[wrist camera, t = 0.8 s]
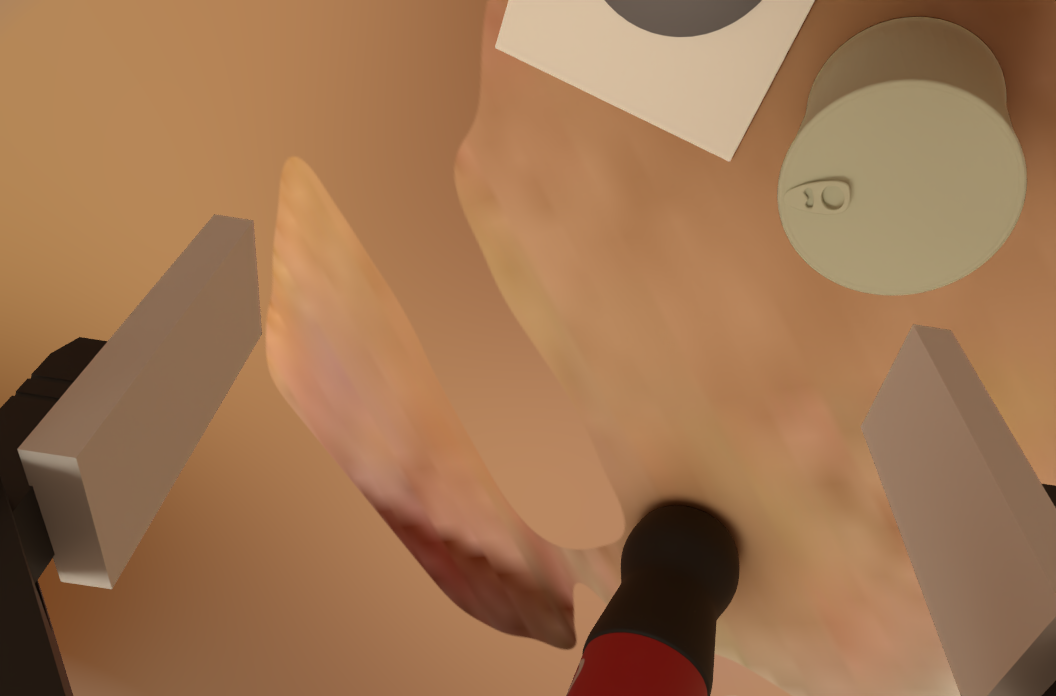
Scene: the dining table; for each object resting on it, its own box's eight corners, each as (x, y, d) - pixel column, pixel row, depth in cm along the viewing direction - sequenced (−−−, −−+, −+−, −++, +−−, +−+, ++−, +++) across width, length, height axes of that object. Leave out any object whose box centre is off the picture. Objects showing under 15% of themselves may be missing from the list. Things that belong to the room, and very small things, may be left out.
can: (804, 28, 41) (769, 92, 32) (1015, 4, 38) (1045, 69, 28) (807, 200, 46) (777, 301, 37) (996, 194, 42) (1016, 305, 33)
